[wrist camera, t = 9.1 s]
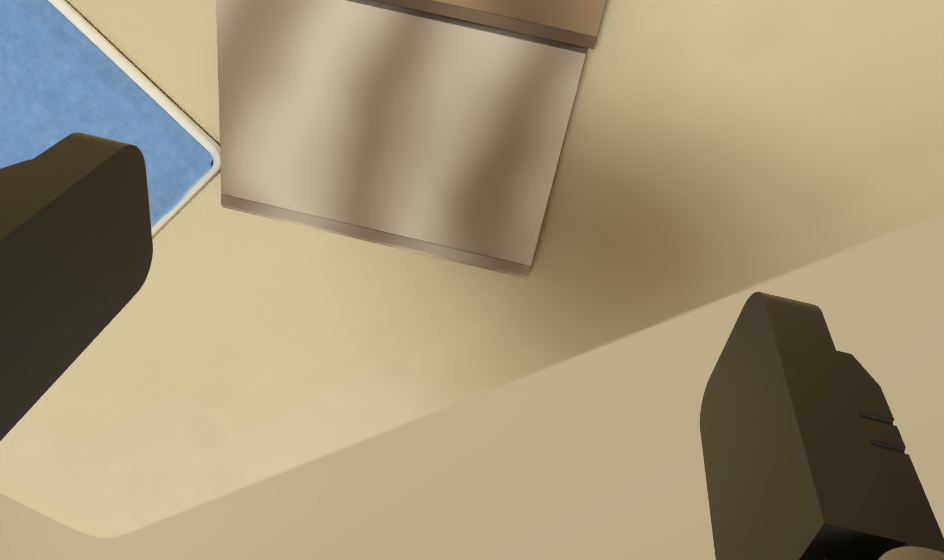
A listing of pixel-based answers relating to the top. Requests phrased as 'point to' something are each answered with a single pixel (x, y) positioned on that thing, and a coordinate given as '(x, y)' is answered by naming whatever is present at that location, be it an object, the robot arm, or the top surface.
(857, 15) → the top surface
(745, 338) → the robot arm
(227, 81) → the plank
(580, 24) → the laid board
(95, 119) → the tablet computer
